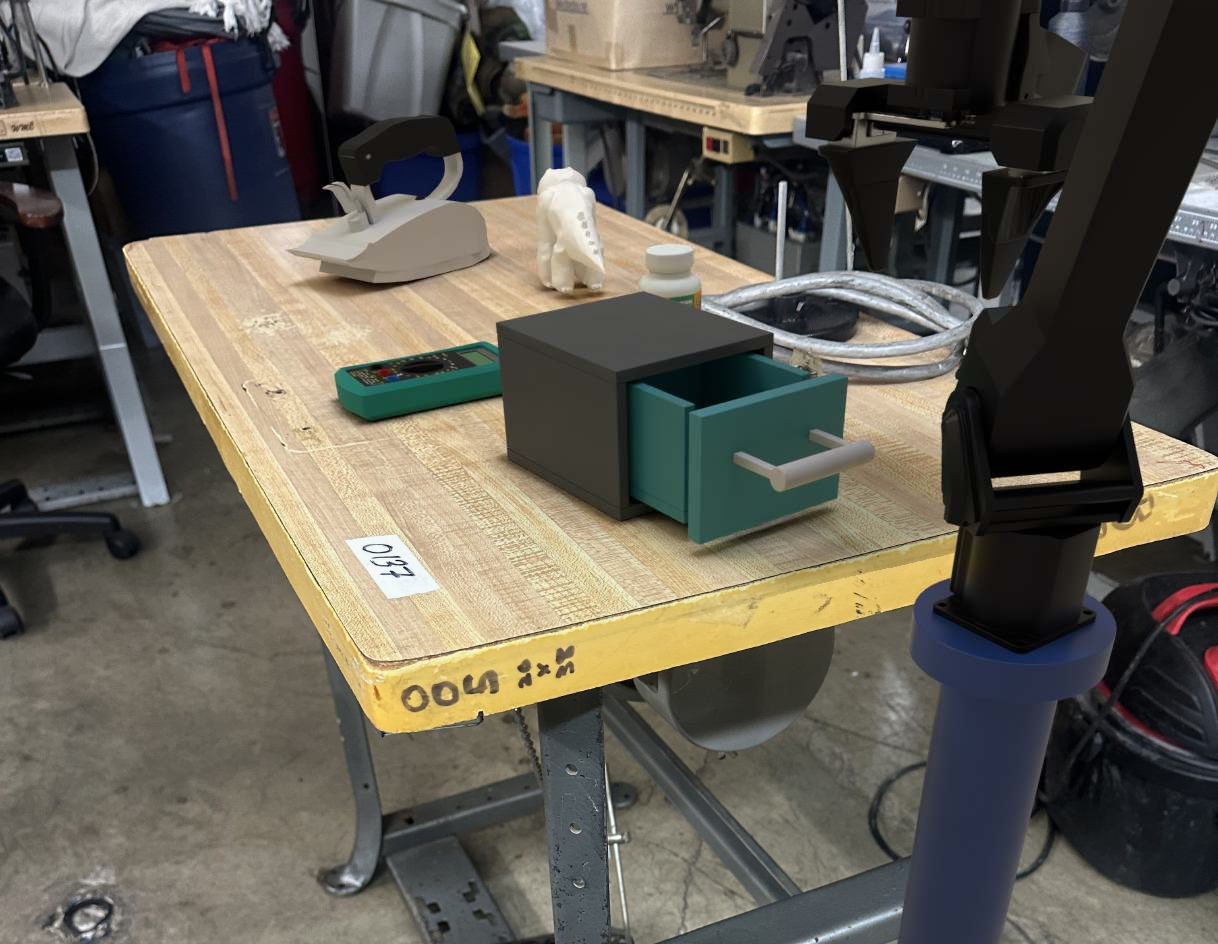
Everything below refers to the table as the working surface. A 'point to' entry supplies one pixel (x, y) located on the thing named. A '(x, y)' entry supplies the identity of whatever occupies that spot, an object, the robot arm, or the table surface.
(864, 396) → the table surface
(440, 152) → the iron
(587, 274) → the toy dinosaur
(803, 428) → the teal drawer
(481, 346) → the digital multimeter
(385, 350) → the table surface
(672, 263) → the supplement bottle
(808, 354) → the small metal piece
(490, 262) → the table surface
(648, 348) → the drawer cabinet
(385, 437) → the table surface
